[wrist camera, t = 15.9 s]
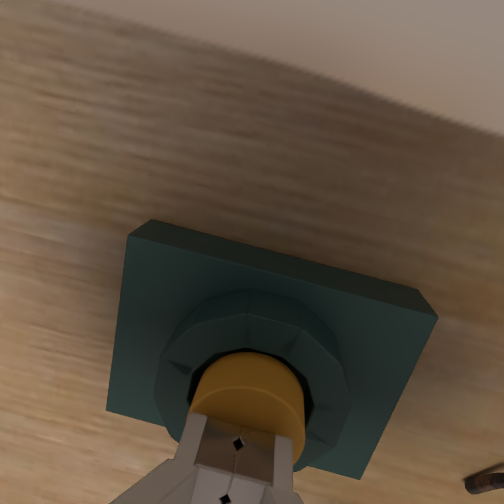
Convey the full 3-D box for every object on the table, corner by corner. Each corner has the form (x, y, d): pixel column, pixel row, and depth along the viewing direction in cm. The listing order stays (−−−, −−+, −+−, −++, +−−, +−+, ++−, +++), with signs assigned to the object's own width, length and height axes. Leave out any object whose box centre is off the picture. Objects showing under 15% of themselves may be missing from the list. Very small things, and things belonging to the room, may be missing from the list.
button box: (127, 377, 17) (81, 446, 14) (150, 218, 15) (101, 251, 11) (352, 437, 17) (368, 525, 13) (418, 289, 14) (462, 347, 11)
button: (190, 421, 13) (175, 463, 11) (209, 338, 12) (196, 372, 10) (287, 447, 13) (286, 494, 11) (317, 367, 12) (320, 406, 10)
